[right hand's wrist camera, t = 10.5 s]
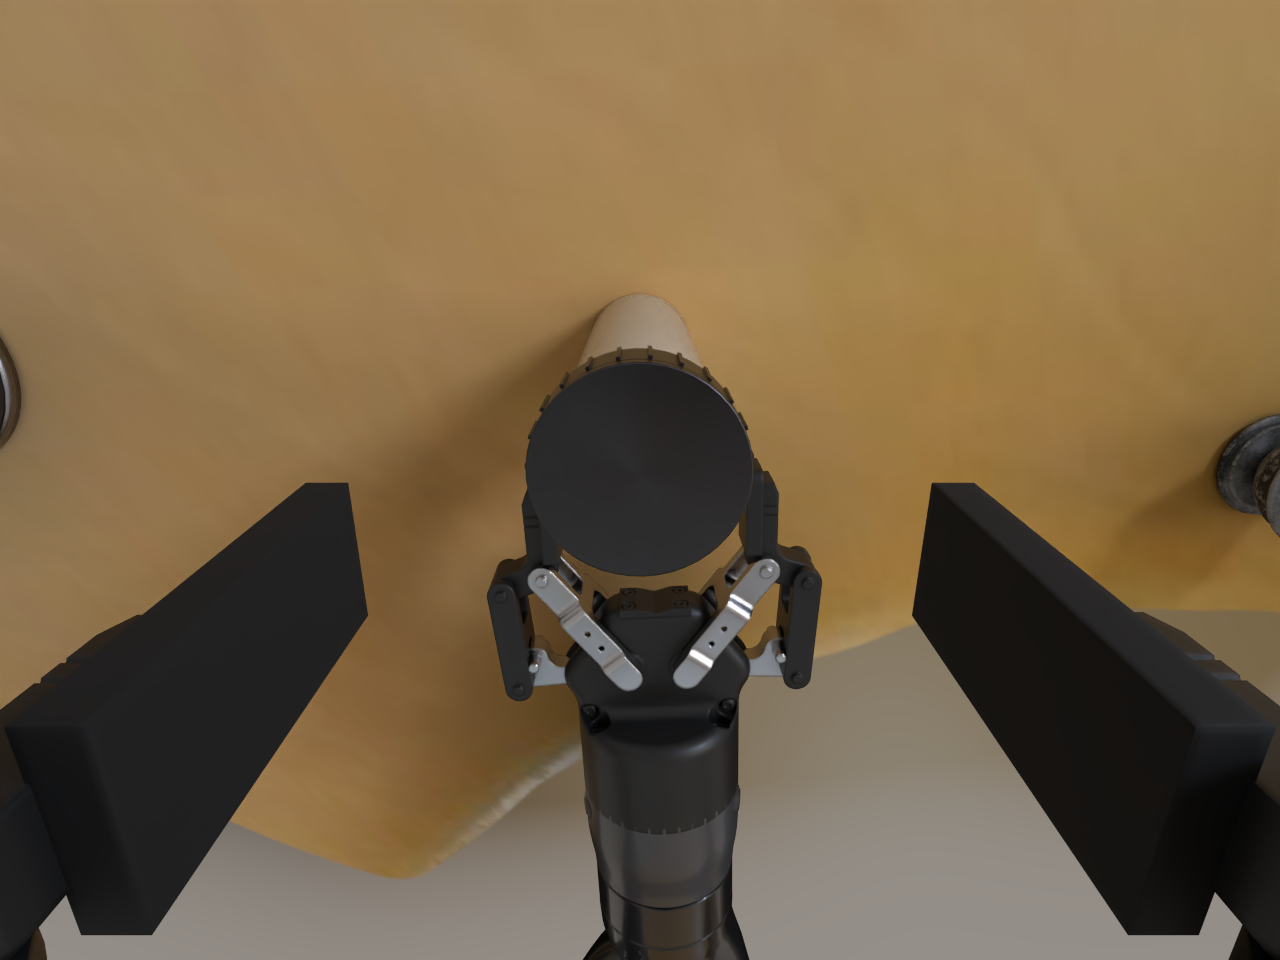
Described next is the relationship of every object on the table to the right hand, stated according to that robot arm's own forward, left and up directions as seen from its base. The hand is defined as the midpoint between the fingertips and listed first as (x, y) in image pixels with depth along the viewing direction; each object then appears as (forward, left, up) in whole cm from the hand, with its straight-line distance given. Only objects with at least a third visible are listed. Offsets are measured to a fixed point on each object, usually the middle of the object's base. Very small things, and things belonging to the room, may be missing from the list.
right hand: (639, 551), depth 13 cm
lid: (0, 0, -4) cm, 4 cm away
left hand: (+3, -3, -16) cm, 17 cm away
